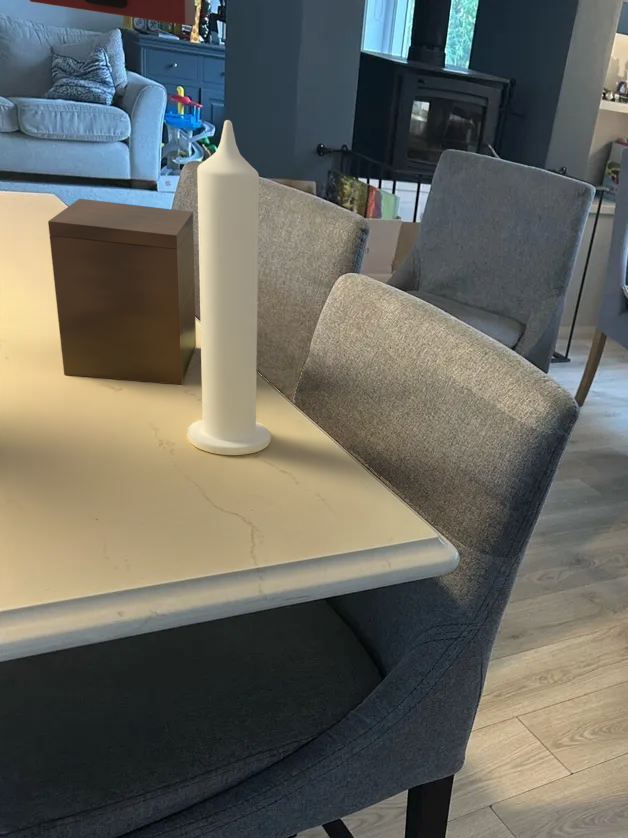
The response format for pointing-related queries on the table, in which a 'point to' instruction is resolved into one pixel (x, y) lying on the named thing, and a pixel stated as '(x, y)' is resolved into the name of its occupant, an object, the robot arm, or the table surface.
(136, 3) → the red rectangular block
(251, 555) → the table surface
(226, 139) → the candle
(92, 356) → the brown rectangular block
